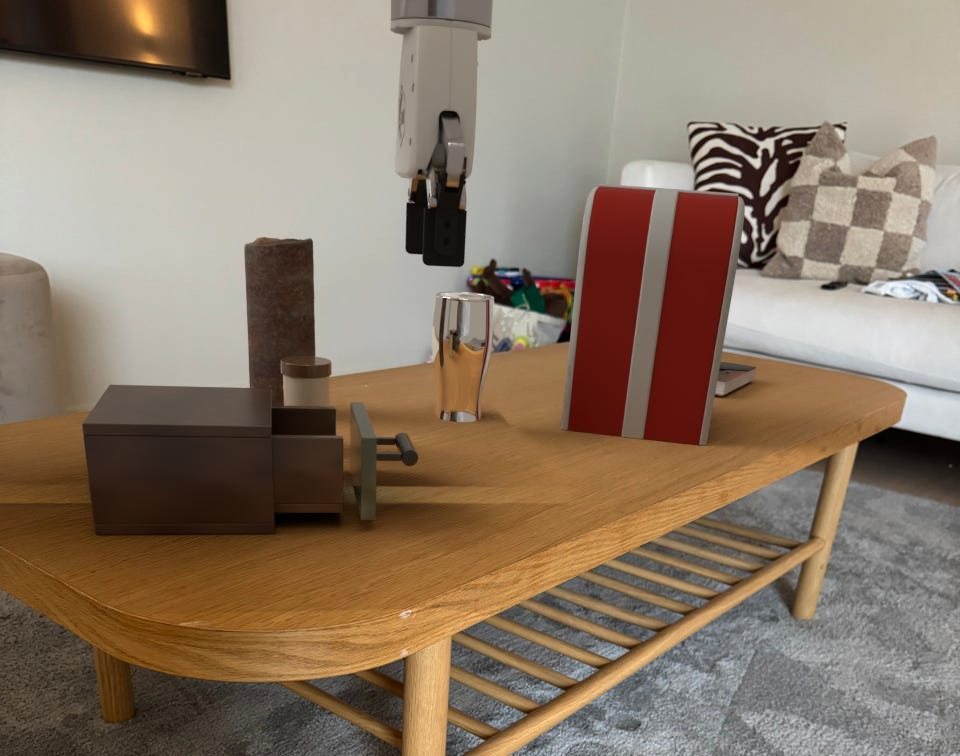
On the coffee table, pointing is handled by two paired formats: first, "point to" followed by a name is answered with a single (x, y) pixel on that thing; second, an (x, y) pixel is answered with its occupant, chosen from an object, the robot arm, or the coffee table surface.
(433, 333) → the beer glass
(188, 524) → the cabinet
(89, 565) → the coffee table surface
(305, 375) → the spice jar
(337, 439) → the drawer
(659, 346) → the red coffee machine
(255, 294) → the candle
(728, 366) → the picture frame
